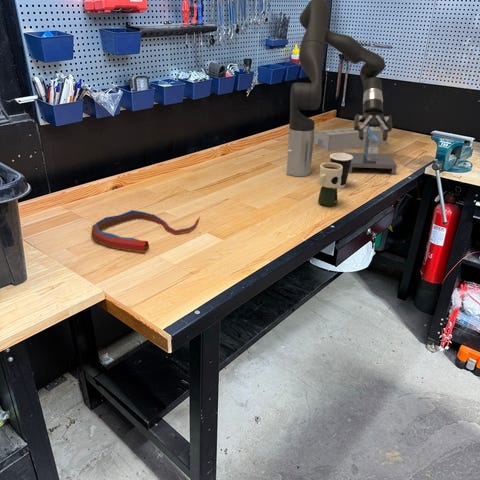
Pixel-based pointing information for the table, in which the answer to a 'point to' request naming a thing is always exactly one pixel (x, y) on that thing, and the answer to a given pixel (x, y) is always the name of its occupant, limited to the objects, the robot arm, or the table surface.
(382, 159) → the brushed metal plate
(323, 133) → the warehouse
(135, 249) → the red curved tail
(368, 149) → the label tape box
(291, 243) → the table surface
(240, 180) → the table surface
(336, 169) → the character mug
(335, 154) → the dixie cup
